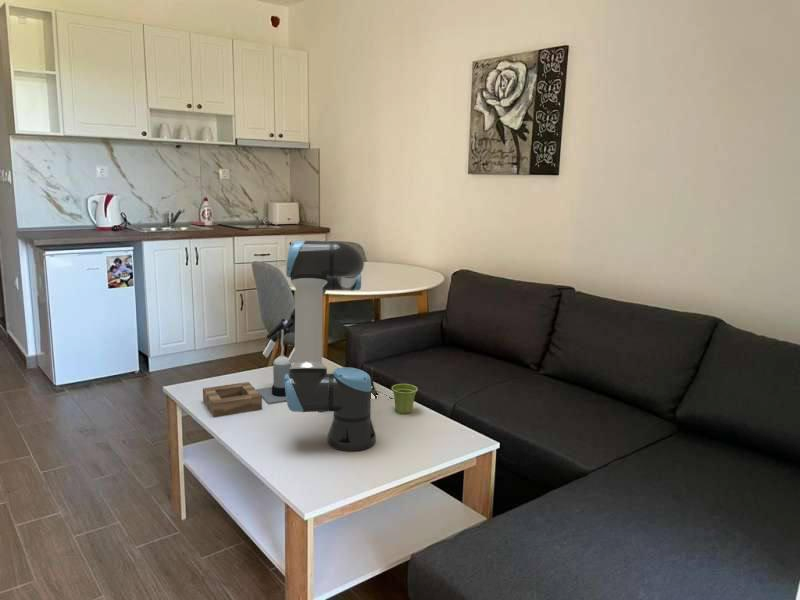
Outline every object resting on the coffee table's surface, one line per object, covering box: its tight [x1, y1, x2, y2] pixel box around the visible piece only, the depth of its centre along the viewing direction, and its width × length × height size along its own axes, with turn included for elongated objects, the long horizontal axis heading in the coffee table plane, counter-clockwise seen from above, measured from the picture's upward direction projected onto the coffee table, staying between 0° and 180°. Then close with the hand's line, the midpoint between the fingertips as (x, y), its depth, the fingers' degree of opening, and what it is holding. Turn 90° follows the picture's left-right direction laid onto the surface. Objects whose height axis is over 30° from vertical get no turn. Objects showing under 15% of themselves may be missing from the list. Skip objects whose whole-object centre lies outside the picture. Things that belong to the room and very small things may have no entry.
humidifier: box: [271, 330, 292, 397], centre depth 223 cm, size 8×8×25 cm
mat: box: [255, 386, 287, 405], centre depth 226 cm, size 16×16×1 cm
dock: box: [202, 381, 263, 418], centre depth 213 cm, size 17×17×5 cm
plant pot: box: [391, 383, 418, 414], centre depth 212 cm, size 9×9×9 cm
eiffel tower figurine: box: [370, 366, 394, 400], centre depth 225 cm, size 15×10×13 cm
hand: (277, 358), depth 220 cm, fingers open, 12 cm apart
